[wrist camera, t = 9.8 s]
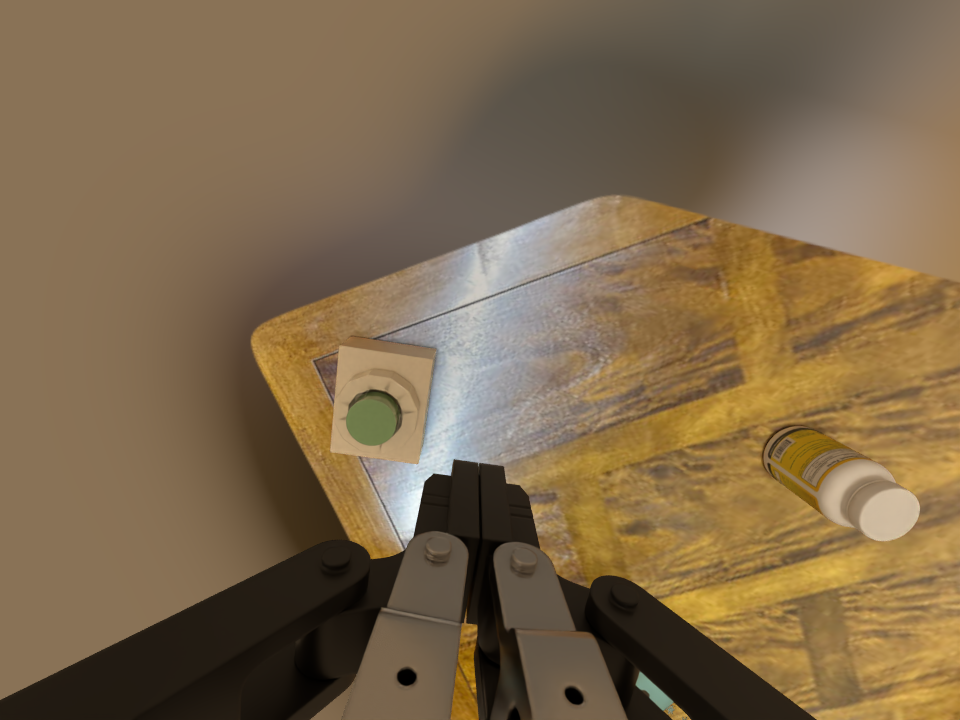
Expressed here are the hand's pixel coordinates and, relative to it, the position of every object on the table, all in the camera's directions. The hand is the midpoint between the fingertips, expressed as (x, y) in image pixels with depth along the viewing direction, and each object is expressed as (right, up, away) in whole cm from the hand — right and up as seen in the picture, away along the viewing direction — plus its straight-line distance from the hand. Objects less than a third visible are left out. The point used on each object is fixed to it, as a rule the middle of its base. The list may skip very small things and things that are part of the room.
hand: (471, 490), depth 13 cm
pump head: (-8, -1, +24) cm, 26 cm away
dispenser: (-9, +1, +30) cm, 31 cm away
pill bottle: (+32, -5, +32) cm, 46 cm away
